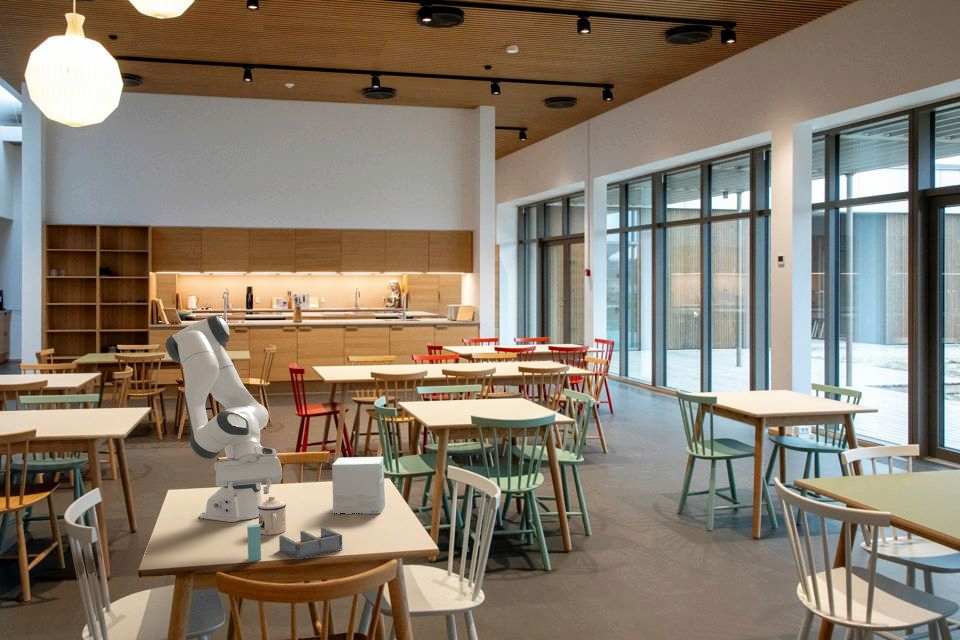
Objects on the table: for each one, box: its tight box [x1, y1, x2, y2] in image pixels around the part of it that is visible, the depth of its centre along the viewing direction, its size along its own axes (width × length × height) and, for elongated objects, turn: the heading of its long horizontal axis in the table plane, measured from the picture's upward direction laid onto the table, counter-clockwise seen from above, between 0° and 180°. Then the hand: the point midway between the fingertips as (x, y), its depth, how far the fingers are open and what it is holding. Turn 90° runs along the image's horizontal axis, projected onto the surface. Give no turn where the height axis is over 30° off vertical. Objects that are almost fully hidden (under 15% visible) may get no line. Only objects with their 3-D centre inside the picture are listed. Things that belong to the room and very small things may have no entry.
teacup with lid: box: [258, 495, 287, 536], centre depth 268 cm, size 12×9×12 cm
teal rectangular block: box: [246, 523, 262, 562], centre depth 241 cm, size 2×4×10 cm
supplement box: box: [331, 456, 386, 515], centre depth 295 cm, size 17×13×18 cm
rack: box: [278, 526, 343, 561], centre depth 249 cm, size 12×15×4 cm
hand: (250, 494), depth 252 cm, fingers open, 8 cm apart
